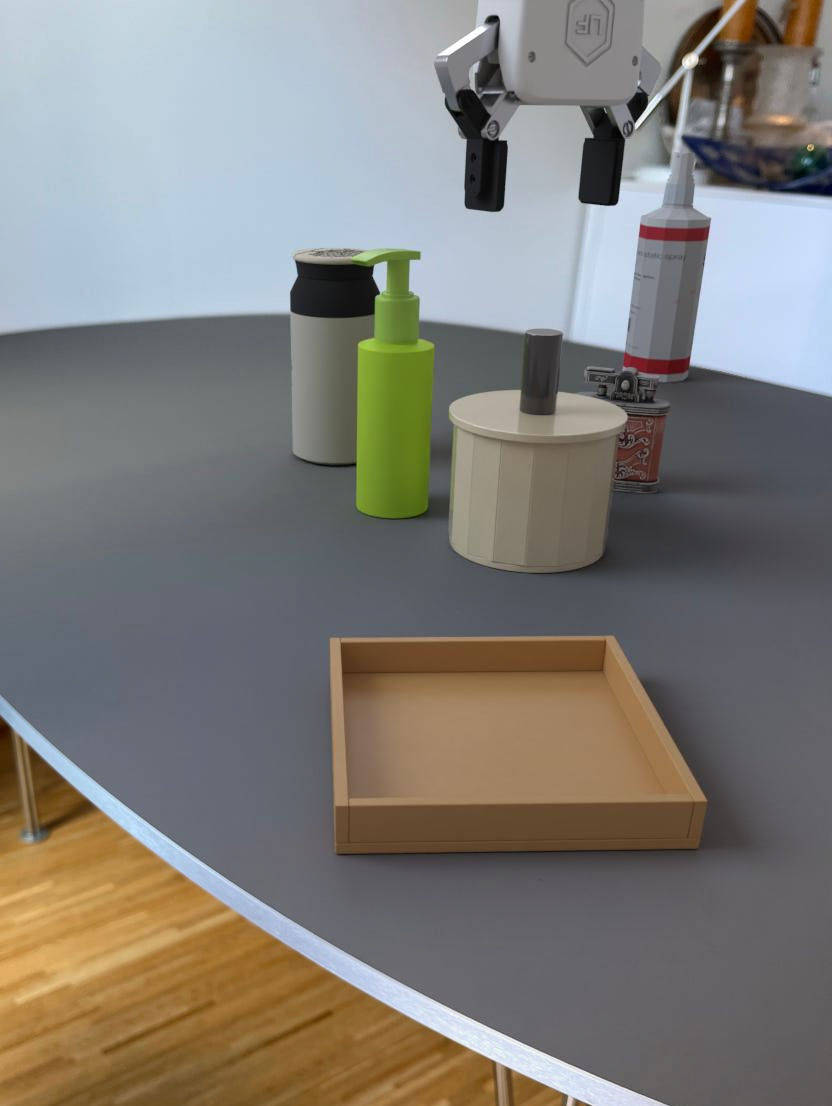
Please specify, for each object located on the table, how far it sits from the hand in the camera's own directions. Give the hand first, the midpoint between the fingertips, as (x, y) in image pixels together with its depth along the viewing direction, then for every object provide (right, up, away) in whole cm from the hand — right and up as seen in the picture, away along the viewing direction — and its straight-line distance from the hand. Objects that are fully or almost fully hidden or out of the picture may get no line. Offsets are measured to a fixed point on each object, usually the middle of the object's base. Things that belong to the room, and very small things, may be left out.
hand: (542, 207), depth 69 cm
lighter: (+10, -14, +24) cm, 30 cm away
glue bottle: (+25, +4, +63) cm, 67 cm away
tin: (+1, -21, +12) cm, 24 cm away
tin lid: (+1, -12, +7) cm, 14 cm away
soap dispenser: (-9, -17, +18) cm, 27 cm away
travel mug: (-14, -11, +32) cm, 36 cm away
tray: (-5, -34, -15) cm, 37 cm away
